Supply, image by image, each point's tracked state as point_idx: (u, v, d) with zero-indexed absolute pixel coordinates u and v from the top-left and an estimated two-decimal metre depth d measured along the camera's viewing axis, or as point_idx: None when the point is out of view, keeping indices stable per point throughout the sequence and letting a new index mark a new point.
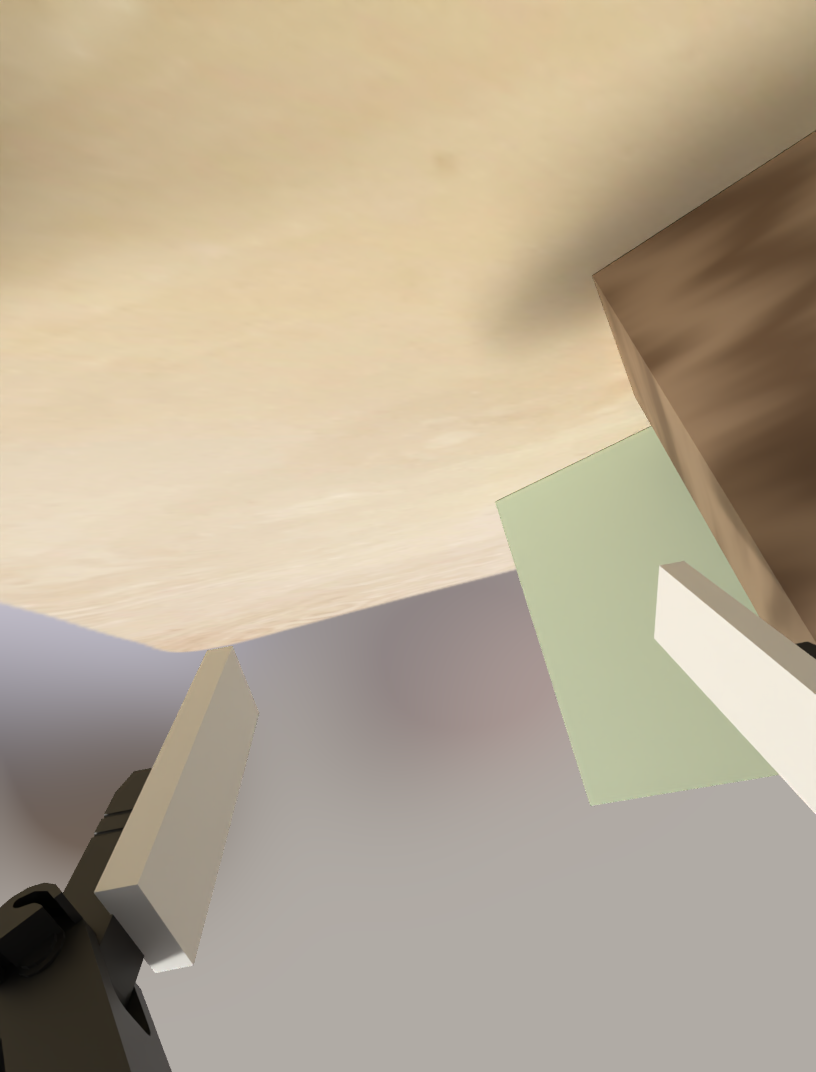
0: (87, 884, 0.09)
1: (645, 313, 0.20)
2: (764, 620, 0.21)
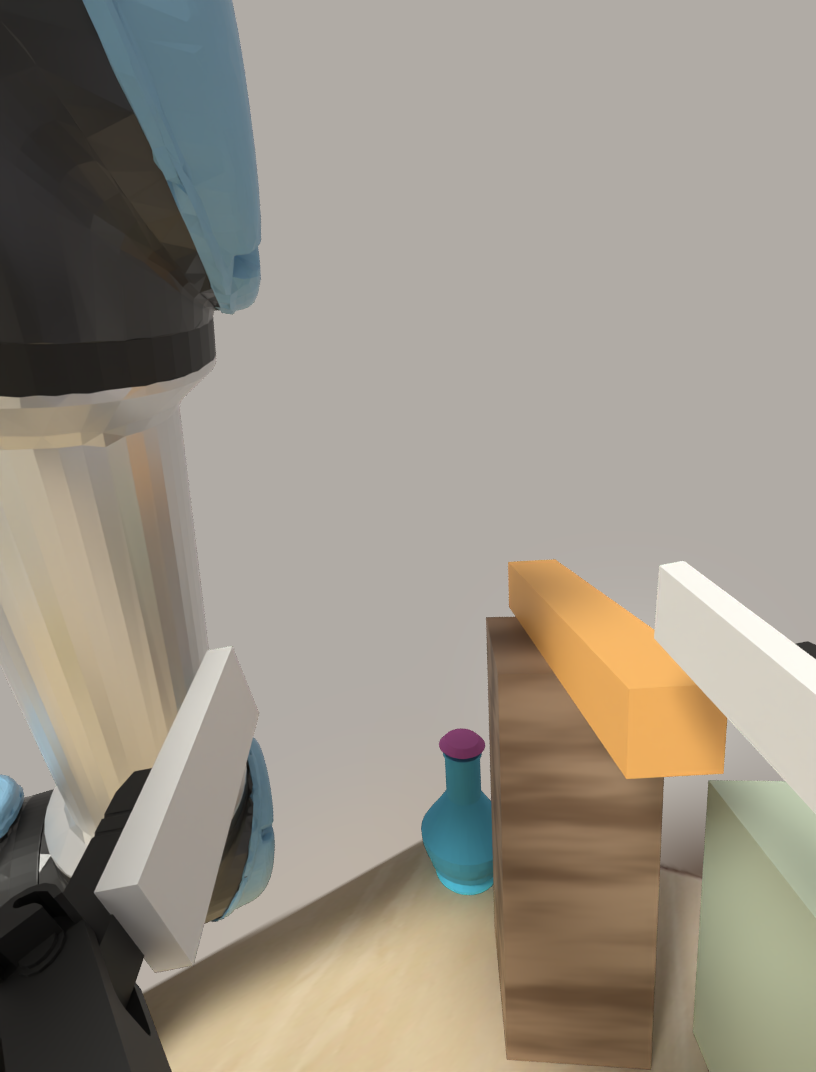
0: (88, 883, 0.09)
1: (504, 1004, 0.35)
2: (640, 888, 0.31)
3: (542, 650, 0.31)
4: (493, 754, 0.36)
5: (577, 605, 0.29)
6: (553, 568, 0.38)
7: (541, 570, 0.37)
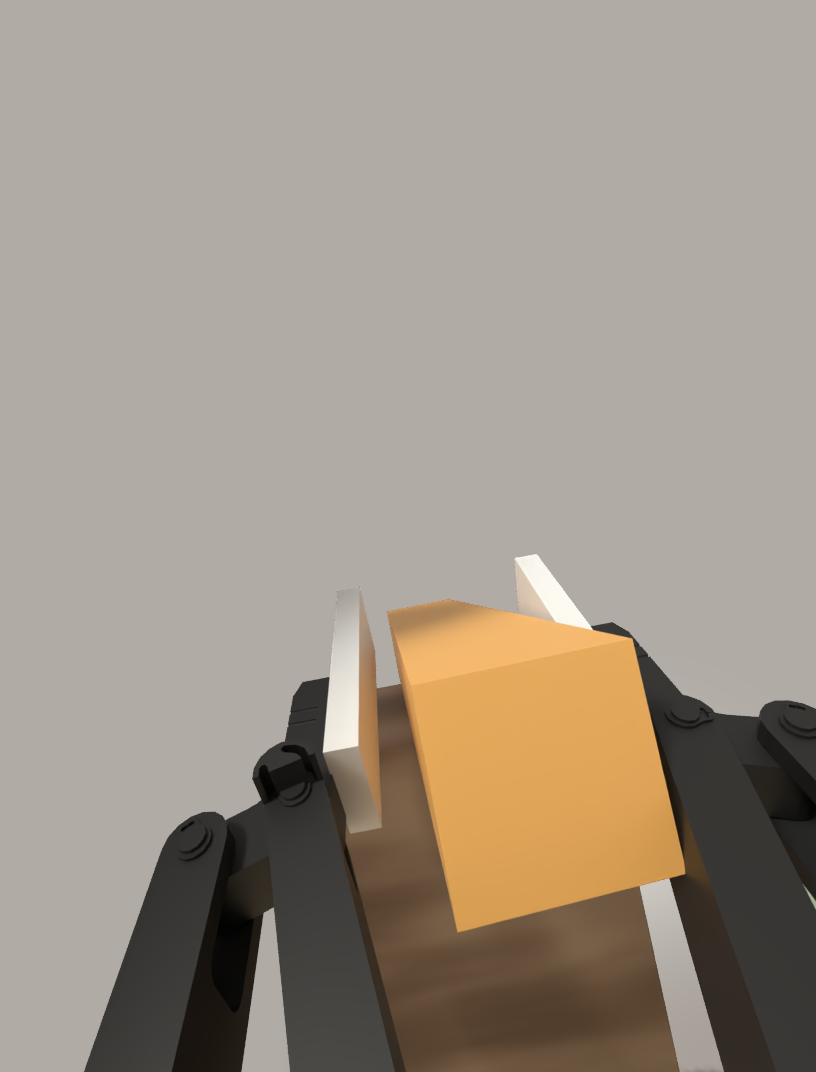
0: None
1: None
2: None
3: None
4: None
5: (433, 621, 0.18)
6: (438, 604, 0.27)
7: (420, 608, 0.27)
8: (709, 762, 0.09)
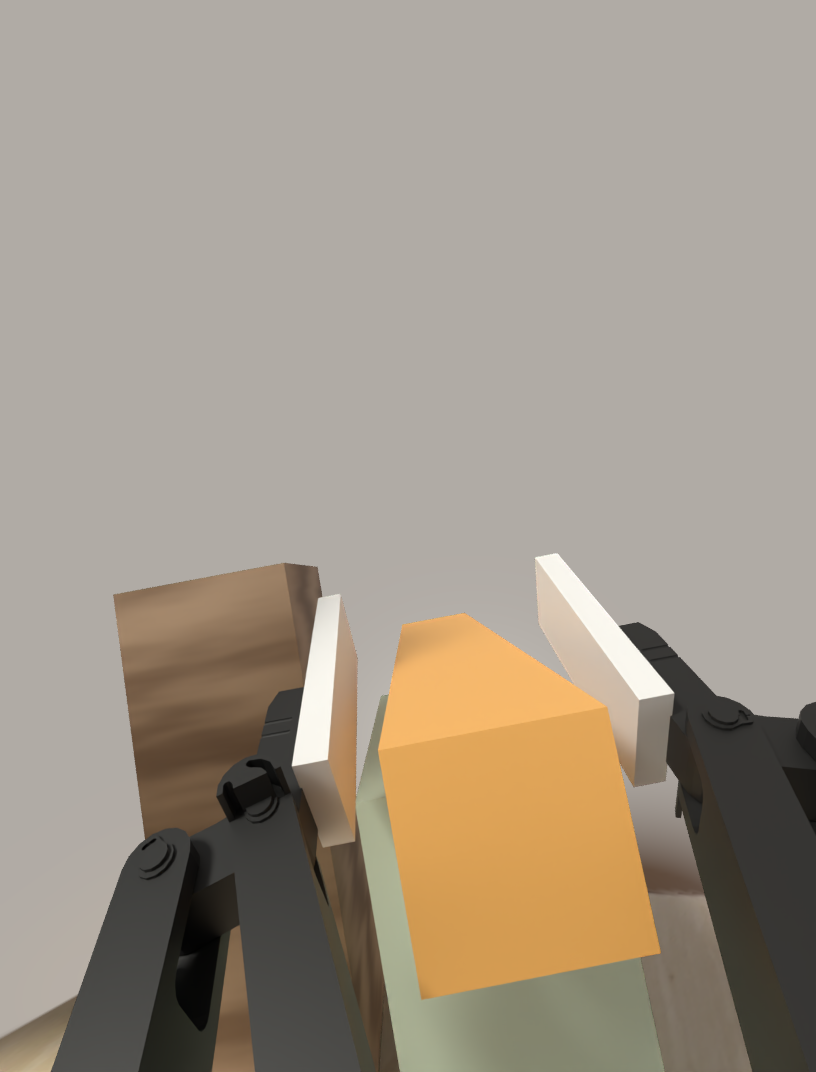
0: None
1: None
2: None
3: None
4: None
5: (436, 647, 0.18)
6: (452, 620, 0.27)
7: (434, 624, 0.27)
8: (747, 765, 0.08)
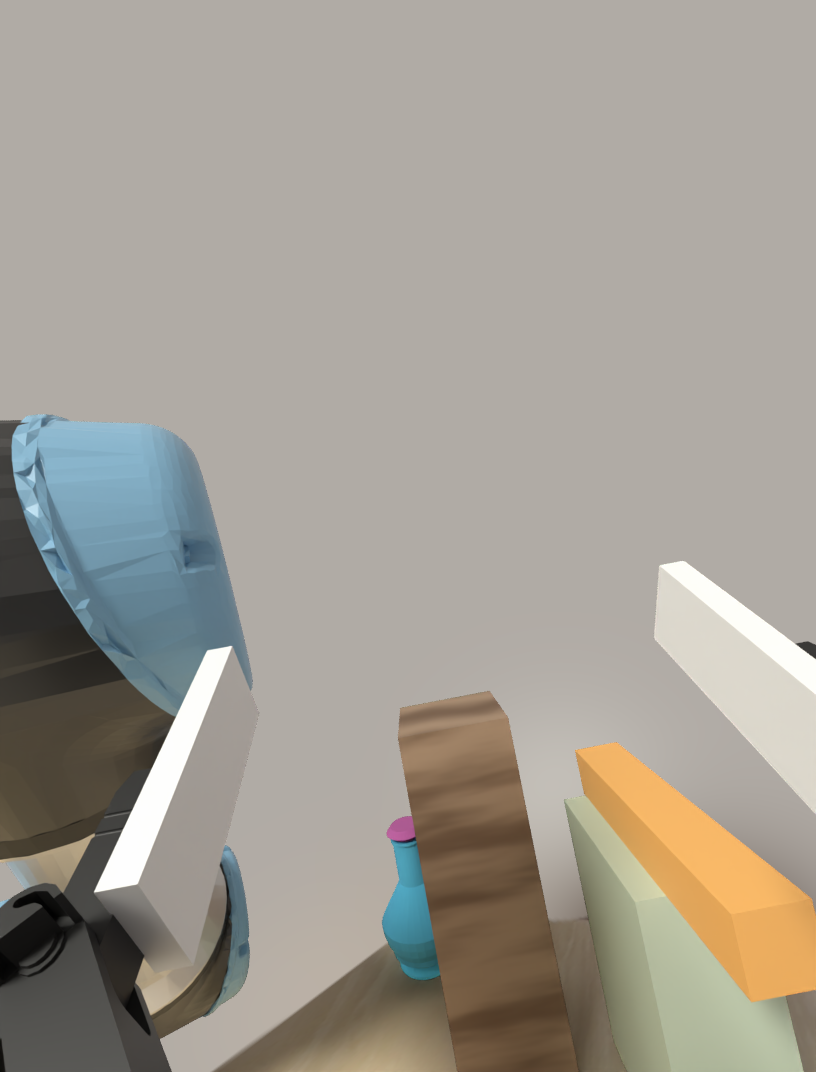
0: (88, 883, 0.09)
1: None
2: (530, 896, 0.41)
3: (633, 850, 0.35)
4: None
5: (656, 808, 0.33)
6: (619, 755, 0.42)
7: (609, 759, 0.42)
8: None
